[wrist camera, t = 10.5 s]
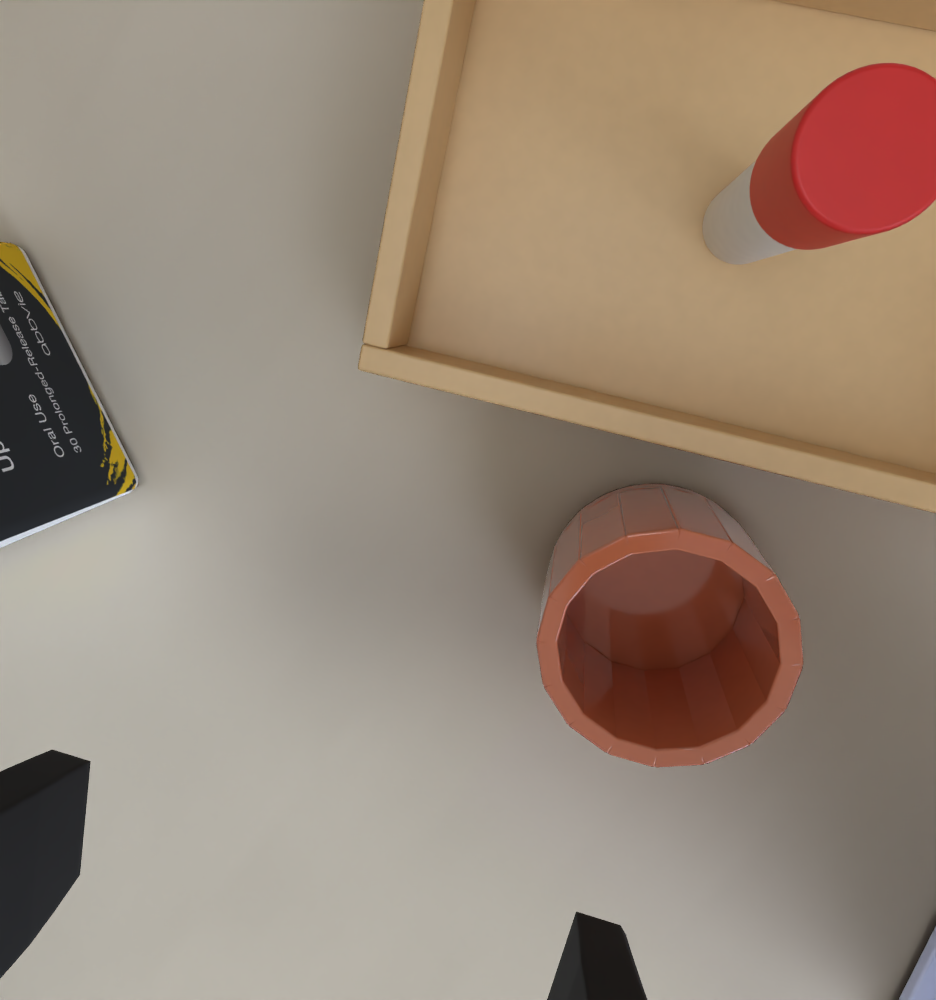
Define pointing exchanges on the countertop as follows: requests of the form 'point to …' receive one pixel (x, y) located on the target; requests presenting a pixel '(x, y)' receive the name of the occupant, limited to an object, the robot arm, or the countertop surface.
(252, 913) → the countertop surface
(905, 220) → the marker
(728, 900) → the countertop surface
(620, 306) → the tray
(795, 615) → the cup
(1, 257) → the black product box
